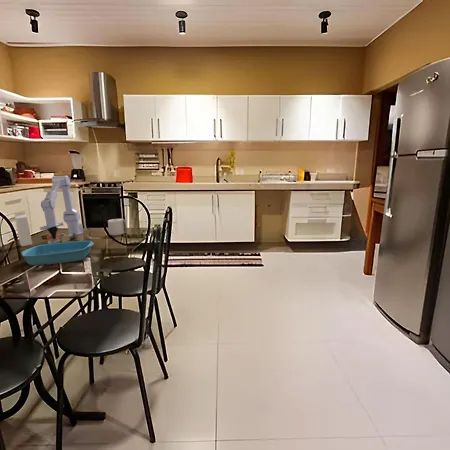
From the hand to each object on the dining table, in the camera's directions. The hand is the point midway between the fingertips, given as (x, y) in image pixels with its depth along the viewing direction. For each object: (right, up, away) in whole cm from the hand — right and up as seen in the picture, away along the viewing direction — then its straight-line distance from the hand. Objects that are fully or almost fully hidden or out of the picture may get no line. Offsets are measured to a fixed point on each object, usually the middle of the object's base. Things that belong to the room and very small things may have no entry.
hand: (54, 238), depth 204 cm
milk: (-22, -5, +6) cm, 23 cm away
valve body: (+1, -2, +10) cm, 10 cm away
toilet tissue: (+33, +2, +24) cm, 41 cm away
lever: (-1, +1, +4) cm, 4 cm away
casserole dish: (+19, -10, -28) cm, 35 cm away
